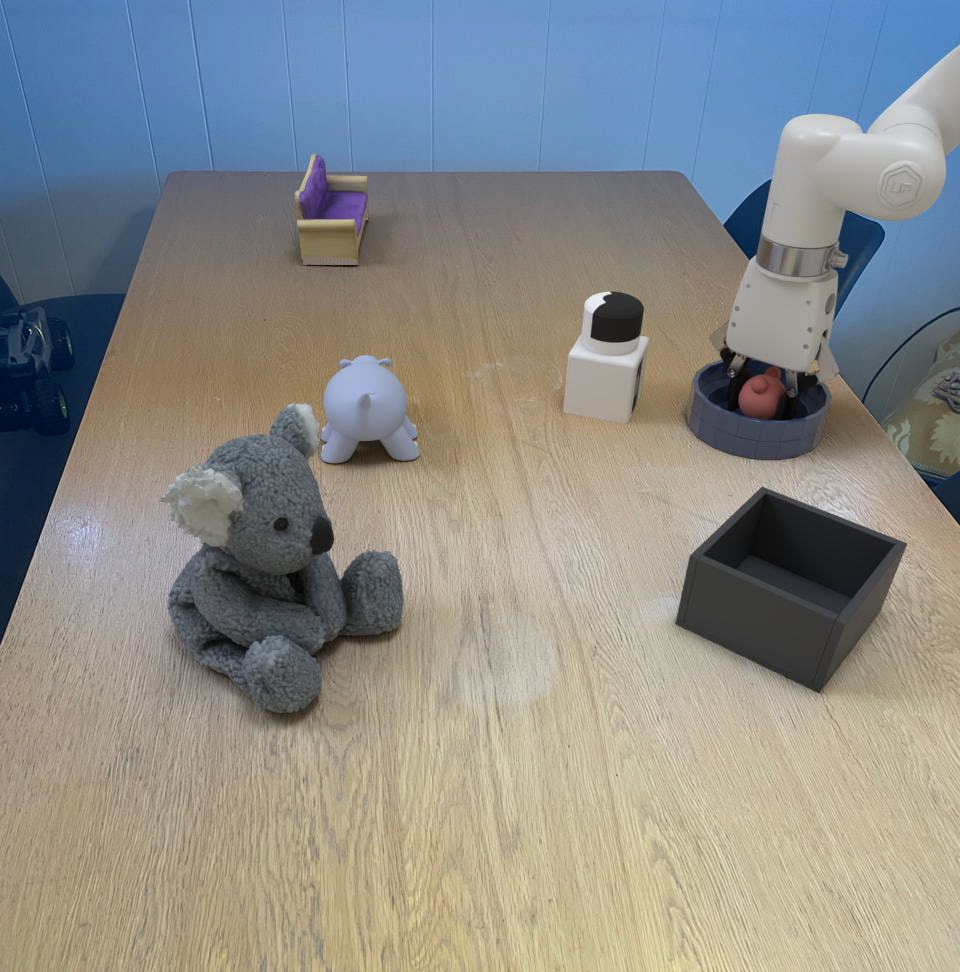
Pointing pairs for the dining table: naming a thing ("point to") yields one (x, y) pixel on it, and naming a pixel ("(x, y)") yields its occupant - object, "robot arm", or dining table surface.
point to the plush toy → (762, 395)
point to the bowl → (750, 433)
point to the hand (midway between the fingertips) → (758, 413)
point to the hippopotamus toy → (366, 411)
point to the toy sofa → (331, 212)
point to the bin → (788, 586)
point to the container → (607, 359)
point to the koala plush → (271, 567)
